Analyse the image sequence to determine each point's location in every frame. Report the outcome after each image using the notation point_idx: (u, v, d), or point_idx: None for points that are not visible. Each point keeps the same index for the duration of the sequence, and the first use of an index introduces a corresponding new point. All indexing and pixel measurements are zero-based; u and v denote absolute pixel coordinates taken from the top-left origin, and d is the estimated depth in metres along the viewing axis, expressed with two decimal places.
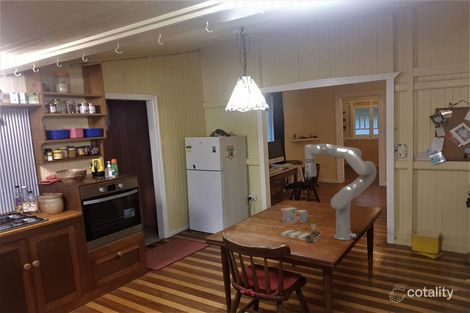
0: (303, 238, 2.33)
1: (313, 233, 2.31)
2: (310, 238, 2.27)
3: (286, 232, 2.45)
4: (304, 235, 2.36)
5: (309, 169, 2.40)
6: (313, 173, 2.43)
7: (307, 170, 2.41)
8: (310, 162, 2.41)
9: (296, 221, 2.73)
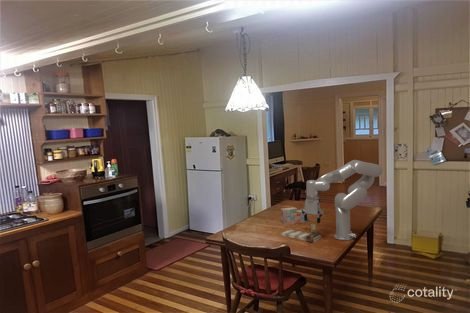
0: (303, 238, 2.33)
1: (313, 233, 2.31)
2: (310, 238, 2.27)
3: (286, 232, 2.45)
4: (304, 235, 2.36)
5: (319, 206, 2.29)
6: None
7: (318, 207, 2.28)
8: None
9: (296, 221, 2.73)
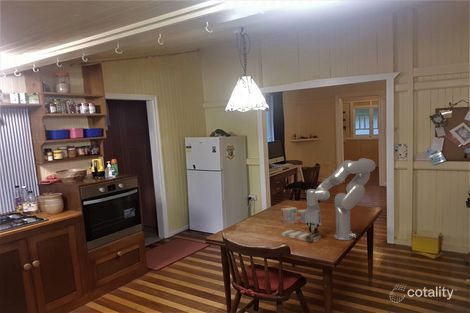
0: (303, 238, 2.33)
1: (313, 233, 2.31)
2: (310, 238, 2.27)
3: (286, 232, 2.45)
4: (304, 235, 2.36)
5: (320, 215, 2.30)
6: None
7: (319, 216, 2.29)
8: None
9: (297, 221, 2.73)
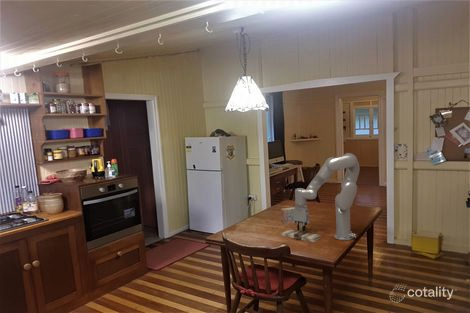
0: (303, 238, 2.33)
1: (301, 231, 2.37)
2: (298, 236, 2.33)
3: (286, 232, 2.45)
4: (304, 235, 2.36)
5: None
6: None
7: (307, 214, 2.35)
8: None
9: None
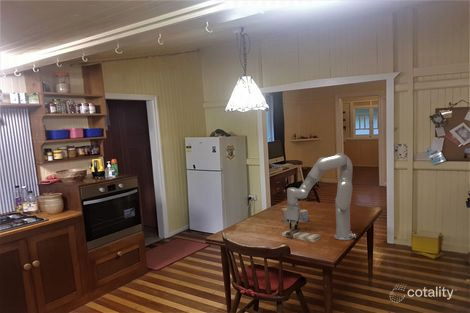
0: (303, 238, 2.33)
1: (293, 229, 2.42)
2: (290, 234, 2.37)
3: None
4: (304, 235, 2.36)
5: None
6: None
7: (299, 213, 2.39)
8: None
9: None
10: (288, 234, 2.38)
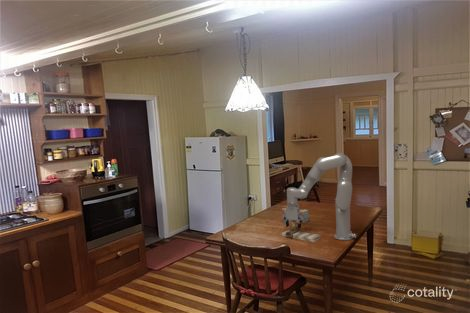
0: (303, 238, 2.33)
1: (293, 229, 2.42)
2: (290, 234, 2.37)
3: None
4: (304, 235, 2.36)
5: (299, 212, 2.40)
6: None
7: (299, 213, 2.39)
8: None
9: None
10: (288, 234, 2.38)
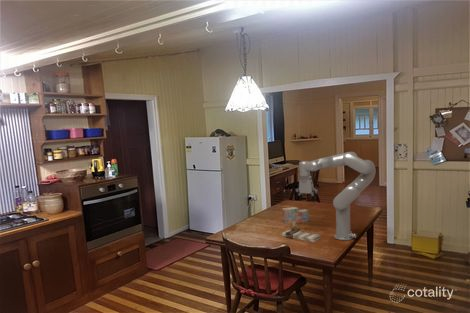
0: (303, 238, 2.33)
1: (293, 229, 2.42)
2: (290, 234, 2.37)
3: None
4: (304, 235, 2.36)
5: None
6: None
7: (312, 186, 2.40)
8: (310, 178, 2.42)
9: (298, 221, 2.74)
10: (288, 234, 2.38)
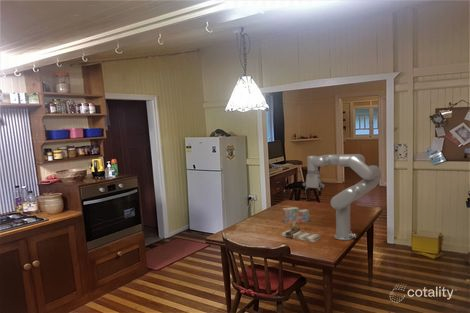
0: (303, 238, 2.33)
1: (293, 229, 2.42)
2: (290, 234, 2.37)
3: None
4: (304, 235, 2.36)
5: None
6: None
7: (319, 181, 2.41)
8: None
9: (298, 221, 2.74)
10: (288, 234, 2.38)
